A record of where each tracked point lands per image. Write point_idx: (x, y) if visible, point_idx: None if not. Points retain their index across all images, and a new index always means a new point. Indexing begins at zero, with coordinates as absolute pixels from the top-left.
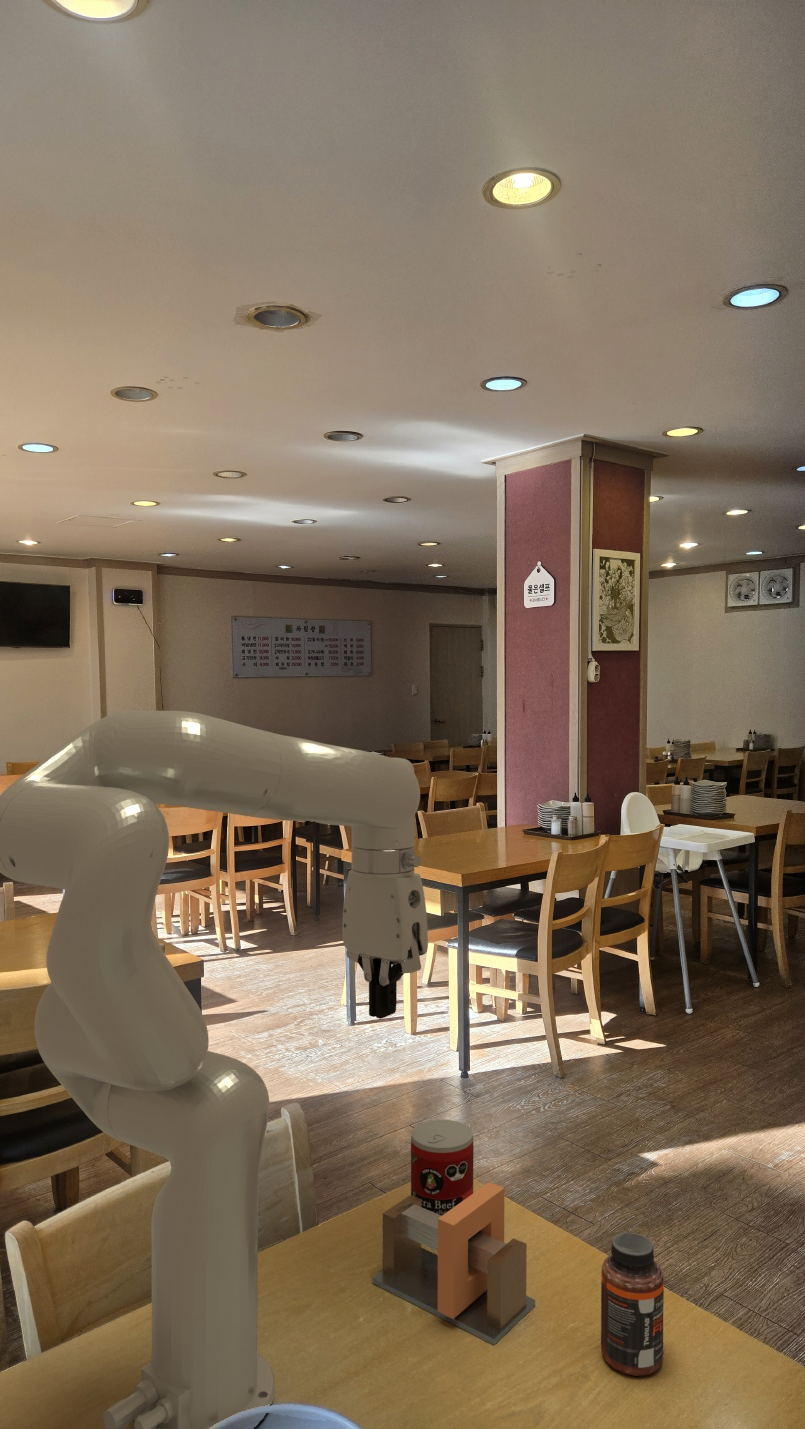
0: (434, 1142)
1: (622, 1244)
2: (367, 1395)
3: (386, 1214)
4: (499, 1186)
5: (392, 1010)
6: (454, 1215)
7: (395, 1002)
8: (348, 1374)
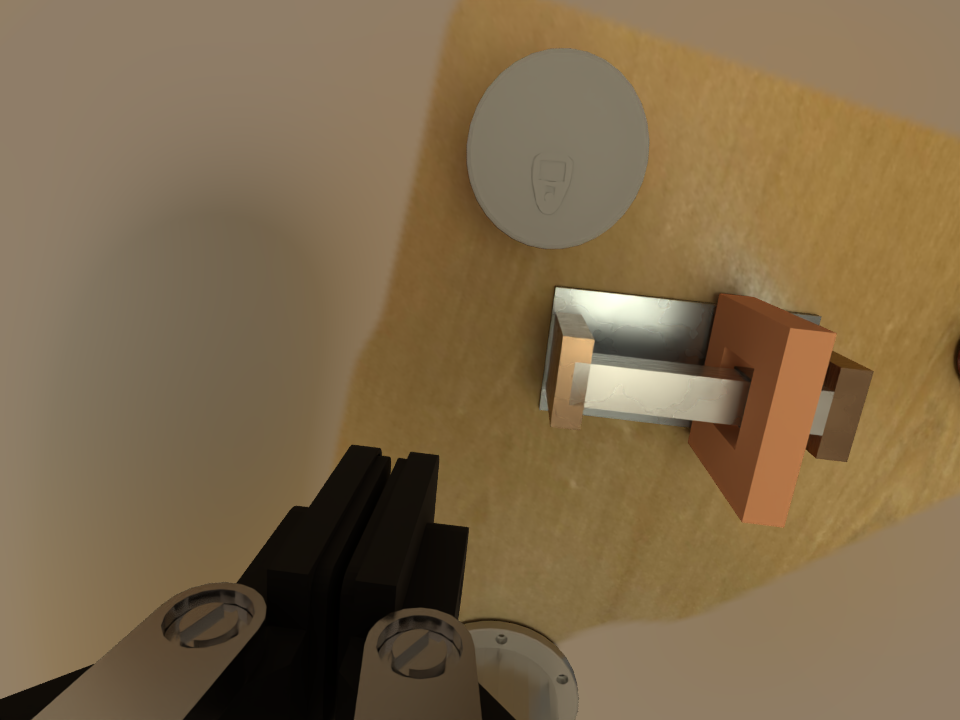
0: (559, 206)
1: None
2: (664, 595)
3: (559, 426)
4: (822, 333)
5: (433, 491)
6: (769, 494)
7: (465, 549)
8: (621, 578)
